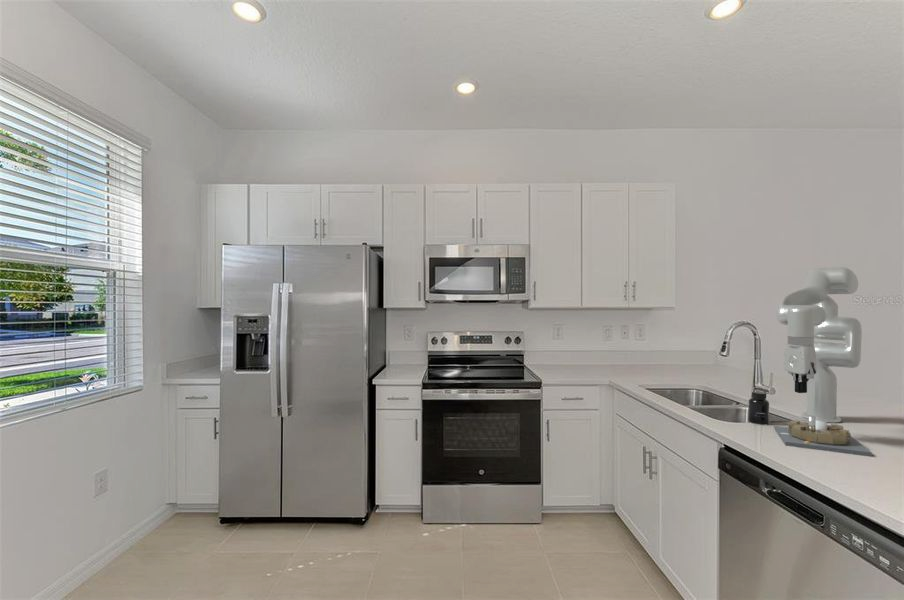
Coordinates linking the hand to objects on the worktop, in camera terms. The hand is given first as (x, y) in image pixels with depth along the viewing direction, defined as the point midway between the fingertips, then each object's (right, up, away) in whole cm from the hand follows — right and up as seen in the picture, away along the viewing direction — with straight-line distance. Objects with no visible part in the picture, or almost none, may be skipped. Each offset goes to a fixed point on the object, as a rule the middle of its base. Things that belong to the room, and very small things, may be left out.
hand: (800, 392), depth 162 cm
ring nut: (+1, -14, -6) cm, 16 cm away
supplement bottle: (-3, -16, +18) cm, 24 cm away
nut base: (+1, -16, -6) cm, 17 cm away
